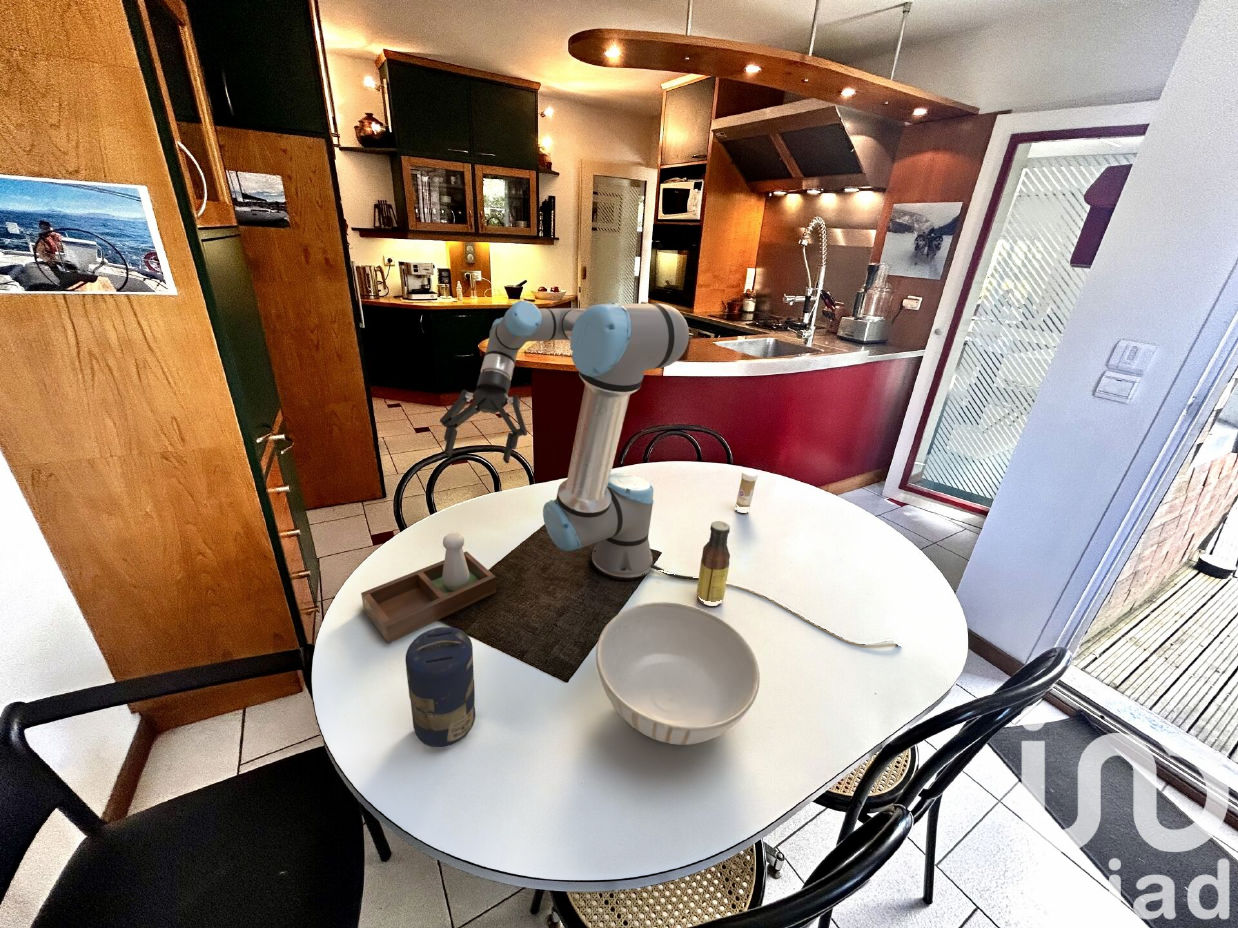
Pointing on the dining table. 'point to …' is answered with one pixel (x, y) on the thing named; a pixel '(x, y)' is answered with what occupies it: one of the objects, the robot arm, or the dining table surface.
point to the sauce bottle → (714, 564)
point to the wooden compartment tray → (423, 598)
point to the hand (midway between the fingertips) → (476, 458)
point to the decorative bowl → (676, 672)
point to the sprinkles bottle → (746, 488)
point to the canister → (441, 686)
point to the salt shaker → (454, 563)
